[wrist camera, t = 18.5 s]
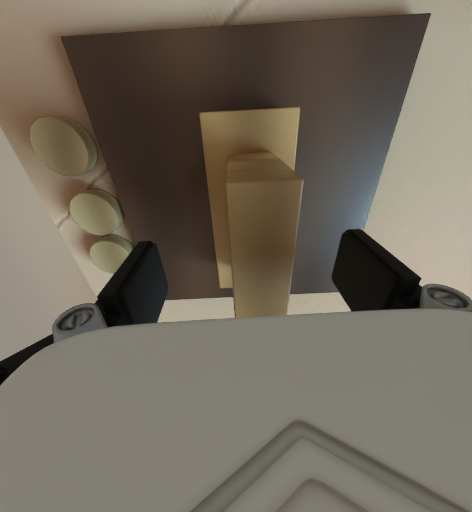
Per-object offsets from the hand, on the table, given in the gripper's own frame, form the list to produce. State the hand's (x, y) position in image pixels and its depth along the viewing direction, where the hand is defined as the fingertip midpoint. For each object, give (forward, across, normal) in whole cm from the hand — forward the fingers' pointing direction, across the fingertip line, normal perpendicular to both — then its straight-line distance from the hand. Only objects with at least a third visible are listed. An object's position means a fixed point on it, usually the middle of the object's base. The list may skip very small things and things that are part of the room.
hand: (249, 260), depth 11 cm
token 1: (+8, +12, -5) cm, 16 cm away
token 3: (+8, +12, +4) cm, 15 cm away
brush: (+7, 0, -1) cm, 7 cm away
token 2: (+8, +12, 0) cm, 15 cm away
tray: (+8, 0, 0) cm, 8 cm away
